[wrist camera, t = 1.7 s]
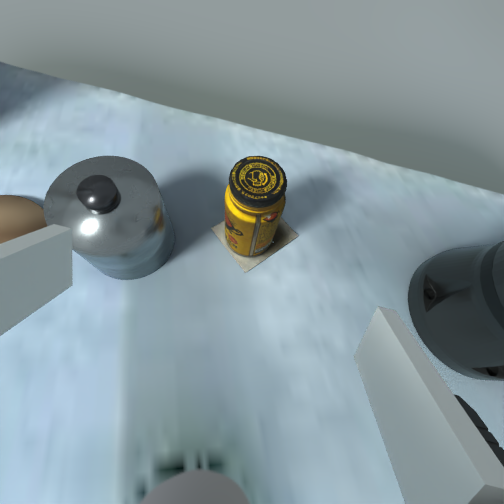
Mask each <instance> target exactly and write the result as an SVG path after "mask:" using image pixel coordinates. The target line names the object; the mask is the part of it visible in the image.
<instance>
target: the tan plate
mask: <svg viewBox="0 0 504 504" xmlns="http://www.w3.org/2000/svg"><path fill="white" fill-rule="evenodd" d="M43 210H44V209H42V208H41V207H40V206H39V205H38V204H36V203H35V202H33V201H31V200H29V199H26V198H23V197H19V196H13V195H0V244H1V243H4V242H7V241H10V240H12V239H15V238H18V237H20V236H23V235H26V234H28V233H31V232H34V231H37V230H39V229H42V228H45V227H47V226H48V225H47V223H46V221H45V218H44V211H43Z"/></svg>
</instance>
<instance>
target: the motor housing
mask: <svg viewBox="0 0 504 504" xmlns="http://www.w3.org/2000/svg"><path fill="white" fill-rule="evenodd" d="M43 211H44V218H45V221H46V223H47V225H48V226H50V225H53V224H56V225H60V226H64V227H68V228H72V250H74V251H75V252H76V253H78V254H79V255H80V256H81V257H83V258H84V259H85V260H87V261H88V262H89V263H90V264H92V265H93V266H94V267H96V268H97V269H98V270H99V271H101V272H102V273H104V274H105V275H107V276H109V277H112V278H115V279H121V280H132V279H138V278H141V277H145V276H147V275H149V274H151V273H153V272H154V271H156V270H157V269H159V268H160V267H161V266H162V265H163V264H164V263H165V262H166V260H167V259H168V257H169V256H170V254H171V252H172V249H173V246H174V239H175V235H174V230H173V227H172V224H171V221H170V218H169V216H168V213H167V210H166V208H165V205H164V202H163V199H162V197H161V194H160V191H159V189H158V186H157V183H156V181H155V179H154V177H153V176H152V174H151V173H150V172H149V171H148V170H147V169H146V168H145V167H143V166H142V165H141V164H139V163H137V162H135V161H133V160H131V159H127V158H124V157H119V156H99V157H94V158H89V159H86V160H83V161H81V162H78V163H76V164H74V165H73V166H71V167H69V168H68V169H66V170H65V171H64V172H62V173H61V174H60V175H59V176H58V177H57V178H56V179H55V180H54V182H53V183H52V185H51V186H50V188H49V190H48V191H47V194H46V197H45V200H44V210H43Z"/></svg>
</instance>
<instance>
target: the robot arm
mask: <svg viewBox="0 0 504 504" xmlns="http://www.w3.org/2000/svg"><path fill="white" fill-rule="evenodd" d="M71 286H72V228H68V227H64V226H60V225H56V224H53V225H50V226H47V227H45V228H42V229H39V230H37V231H34V232H31V233H28V234H26V235H23V236H20V237H18V238H15V239H12V240H10V241H7V242H4V243H1V244H0V336H1V335H2V334H4V333H5V332H7V331H8V330H9V329H11V328H12V327H14V326H15V325H17V324H18V323H19V322H21V321H22V320H24V319H25V318H27V317H28V316H29V315H31V314H32V313H34V312H35V311H37V310H38V309H39V308H41V307H42V306H44V305H45V304H47V303H48V302H49V301H51V300H52V299H54V298H55V297H57V296H58V295H59V294H61V293H62V292H64V291H65V290H67V289H68V288H69V287H71ZM408 304H409V310H410V315H411V318H412V321H413V324H414V326H415V328H416V330H417V332H418V334H419V336H420V338H421V339H422V341H423V342H424V344H425V345H426V346H427V347H428V349H429V350H430V351H431V352H432V353H433V354H434V355H435V356H436V357H437V358H438V359H439V360H440V361H441V362H443V363H444V364H445V365H447V366H448V367H450V368H451V369H453V370H455V371H456V372H458V373H460V374H463V375H465V376H468V377H471V378H475V379H480V380H498V381H504V241H502V242H500V243H498V244H494V245H485V246H476V247H467V248H458V249H452V250H448V251H445V252H442V253H440V254H438V255H436V256H434V257H432V258H430V259H429V260H427V261H425V262H424V263H423V264H422V265H421V266H420V267H419V268H418V269H417V270H416V272H415V273H414V275H413V277H412V279H411V282H410V286H409V292H408ZM354 359H355V361H356V364H357V367H358V370H359V373H360V376H361V378H362V381H363V384H364V387H365V390H366V393H367V396H368V398H369V401H370V404H371V407H372V410H373V413H374V416H375V418H376V421H377V424H378V427H379V430H380V433H381V436H382V438H383V441H384V444H385V447H386V450H387V453H388V456H389V458H390V461H391V464H392V467H393V470H394V473H395V476H396V478H397V481H398V484H399V487H400V490H401V493H402V496H403V498H404V501H405V504H504V450H503V448H502V447H499V443H498V442H497V440H496V439H495V438H494V436H493V435H492V433H491V432H488V428H487V427H486V425H485V424H484V422H483V421H482V420H481V418H480V417H479V416H478V414H477V413H476V412H475V411H474V410H473V409H472V408H471V407H470V406H469V405H468V404H467V403H466V402H465V401H464V400H463V399H462V398H461V397H460V396H458V395H454V394H453V393H452V392H451V390H450V389H449V387H448V386H447V384H446V383H445V381H444V380H443V379H442V377H441V376H440V374H439V373H438V371H437V370H436V368H435V367H434V366H433V364H432V363H431V361H430V360H429V358H428V357H427V355H426V354H425V353H424V351H423V350H422V348H421V347H420V345H419V344H418V342H417V341H416V340H415V338H414V337H413V335H412V334H411V332H410V331H409V329H408V328H407V327H406V325H405V324H404V322H403V321H402V319H401V318H400V316H399V315H398V313H397V312H396V311H395V310H391V309H387V308H383V307H379V306H378V307H377V309H376V311H375V313H374V315H373V317H372V319H371V321H370V323H369V326H368V328H367V330H366V332H365V334H364V336H363V338H362V340H361V342H360V344H359V347H358V349H357V351H356V353H355V355H354Z"/></svg>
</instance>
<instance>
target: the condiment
mask: <svg viewBox="0 0 504 504" xmlns="http://www.w3.org/2000/svg"><path fill="white" fill-rule="evenodd" d="M286 187H287V179H286V176H285V172H284V170H283V169H282V168H281V167H280V165H279V164H278V163H276V162H275V161H274V160H272V159H270V158H267V157H263V156H249V157H246V158H244V159H241V160H240V161H238V162H237V163H236V164H235V166H234V167H233V169H232V170H231V172H230V177H229V184H228V186H227V189H226V192H225V220H224V221H222V222H221V223H219V224H217V225H216V226H214V227H212V228H211V229H212V230H213V232H214V233H215V234H216V236H217V237H218V238H219V240H220V241H221V242H222V244H223V245H224V246H225V247H226V249H227V250H228V251H229V253H230V254H231V255H232V256H233V258H234V259H235V260H236V262H237V263H238V264H239V265H240V267H241V268H242V269H243V270H244V272H245V273H246V272H247V271H249V270H250V269H252V268H253V267H255V266H256V265H258V264H259V263H260V262H262V261H263V260H265V259H266V258H268V257H269V256H270V255H272V254H273V253H275V252H276V251H277V250H279V249H280V248H282V247H283V246H285V245H286V244H288V243H289V242H290V241H292V240H293V239H295V238H296V237H297V236H298V235H297V234H296V233H295V232H294V231H293V230H292V229H291V228H290V227H289V226H288V224H287V223H286V222H285V221H284V220H283V219H282V218H281V215H282V212H283V209H284V206H285V200H286V199H285V191H286ZM273 241H274V243H273Z"/></svg>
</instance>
